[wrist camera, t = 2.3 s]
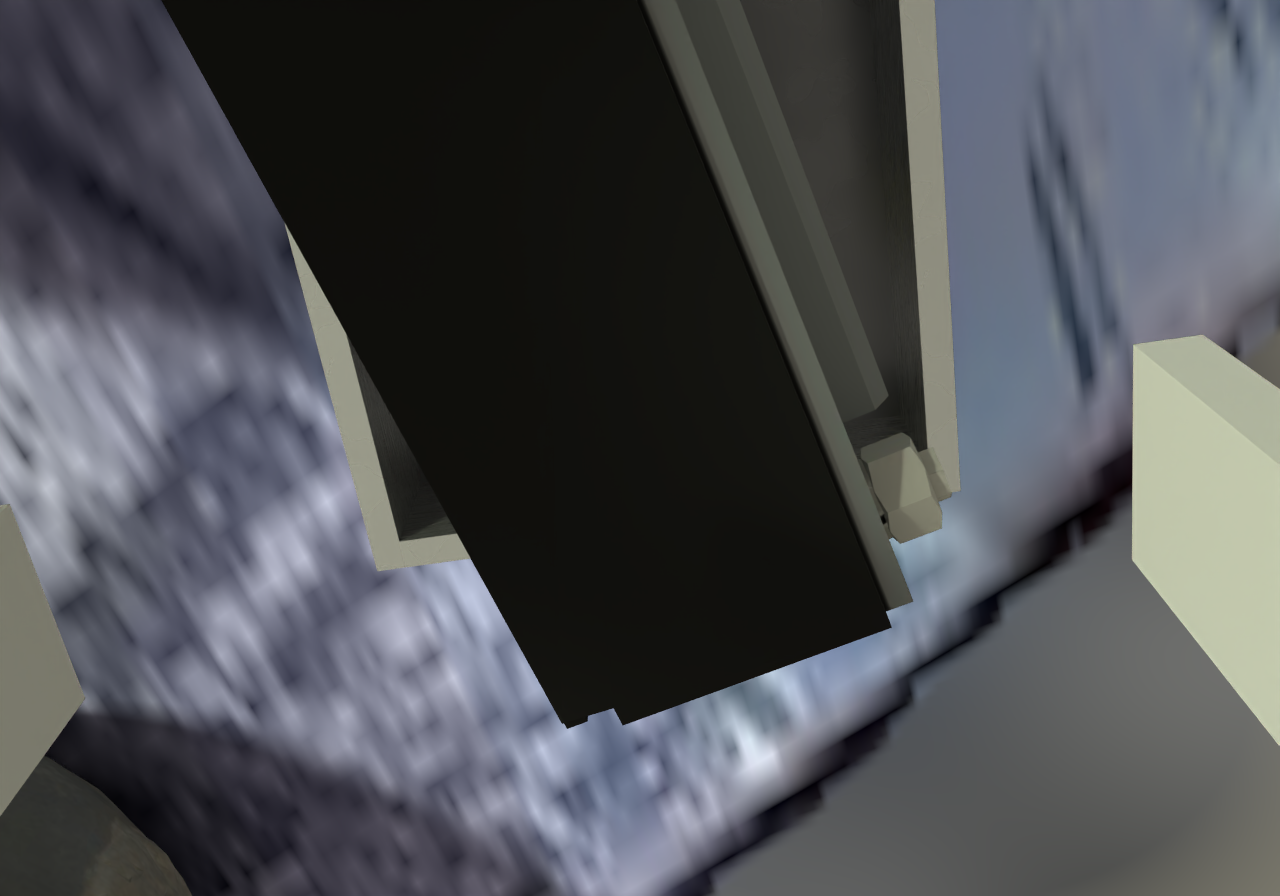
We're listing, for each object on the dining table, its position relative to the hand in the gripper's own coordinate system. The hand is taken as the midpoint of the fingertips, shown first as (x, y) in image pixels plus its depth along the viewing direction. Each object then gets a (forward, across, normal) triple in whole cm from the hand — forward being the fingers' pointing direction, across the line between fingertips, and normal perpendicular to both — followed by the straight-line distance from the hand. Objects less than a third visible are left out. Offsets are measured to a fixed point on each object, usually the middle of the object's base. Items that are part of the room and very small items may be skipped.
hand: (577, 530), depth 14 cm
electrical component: (+29, 0, 0) cm, 29 cm away
